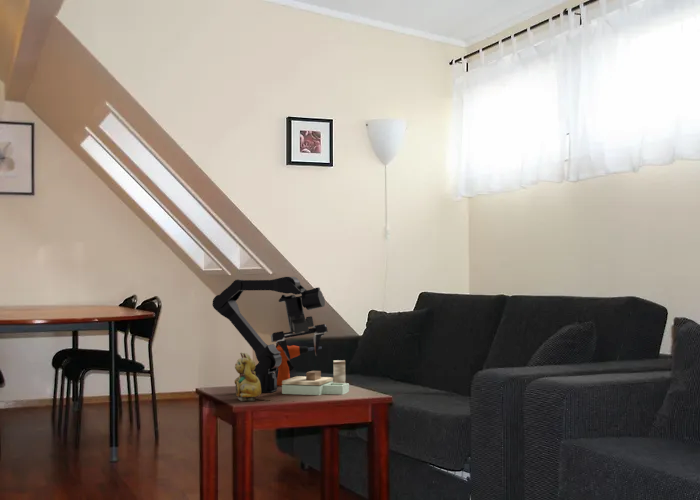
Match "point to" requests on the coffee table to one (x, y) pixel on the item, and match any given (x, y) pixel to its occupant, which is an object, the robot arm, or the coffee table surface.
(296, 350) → the toy drill
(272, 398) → the coffee table surface
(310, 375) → the lid
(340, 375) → the cream upright cylinder
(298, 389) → the pale green tray
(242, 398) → the decorative figurine
